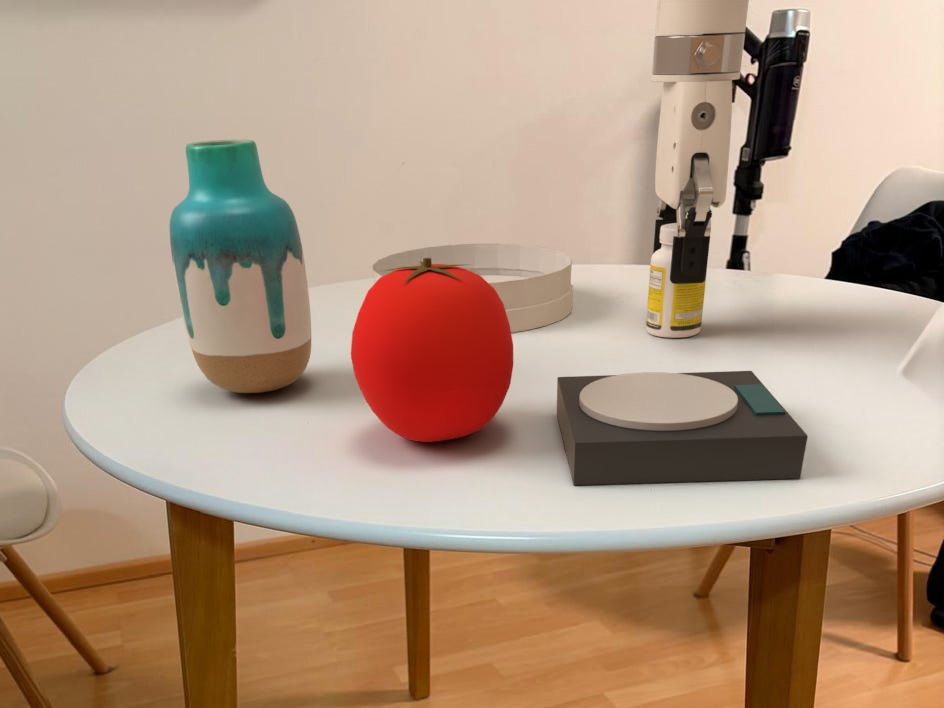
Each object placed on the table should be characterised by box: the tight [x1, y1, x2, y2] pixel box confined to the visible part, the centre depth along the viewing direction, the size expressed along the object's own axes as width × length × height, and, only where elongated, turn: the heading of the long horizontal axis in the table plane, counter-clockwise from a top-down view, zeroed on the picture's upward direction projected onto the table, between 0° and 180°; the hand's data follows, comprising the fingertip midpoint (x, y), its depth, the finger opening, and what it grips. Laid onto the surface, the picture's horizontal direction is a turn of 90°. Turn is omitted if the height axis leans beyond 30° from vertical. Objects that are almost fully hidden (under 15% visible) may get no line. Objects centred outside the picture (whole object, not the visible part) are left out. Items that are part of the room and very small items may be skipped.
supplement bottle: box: [645, 223, 708, 339], centre depth 88 cm, size 5×5×10 cm
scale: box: [556, 370, 809, 486], centre depth 65 cm, size 15×14×4 cm
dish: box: [372, 243, 574, 334], centre depth 100 cm, size 22×22×5 cm
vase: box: [169, 139, 312, 394], centre depth 75 cm, size 11×11×19 cm
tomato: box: [350, 258, 514, 443], centre depth 66 cm, size 12×12×13 cm
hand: (677, 271), depth 88 cm, fingers open, 8 cm apart
